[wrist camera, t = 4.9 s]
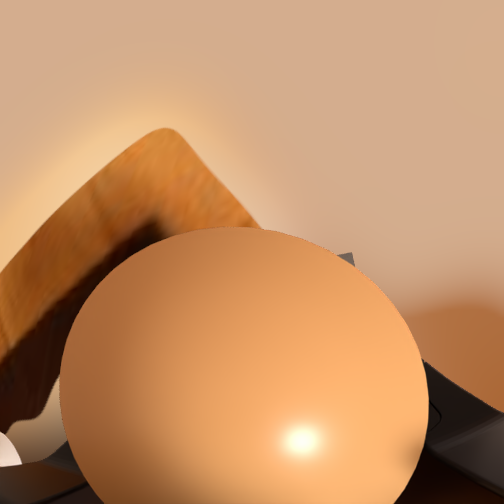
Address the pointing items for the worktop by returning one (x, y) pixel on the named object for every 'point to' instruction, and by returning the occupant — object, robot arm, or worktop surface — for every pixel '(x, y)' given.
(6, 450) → the champagne flute
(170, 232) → the worktop surface
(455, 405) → the robot arm
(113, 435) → the plug
